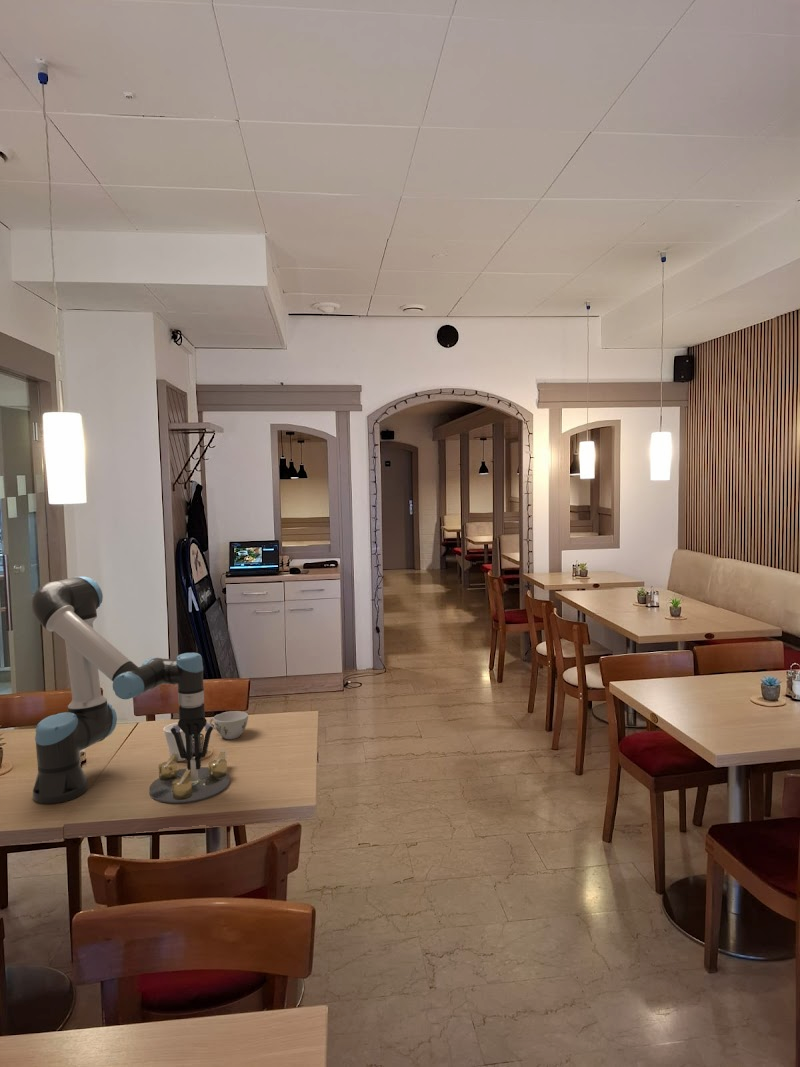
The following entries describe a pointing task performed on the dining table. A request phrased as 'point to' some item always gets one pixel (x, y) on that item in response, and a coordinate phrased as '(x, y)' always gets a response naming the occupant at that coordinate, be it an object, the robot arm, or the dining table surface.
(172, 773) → the knob left
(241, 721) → the teacup
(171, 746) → the cup
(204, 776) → the plate
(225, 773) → the knob right
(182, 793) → the knob front
